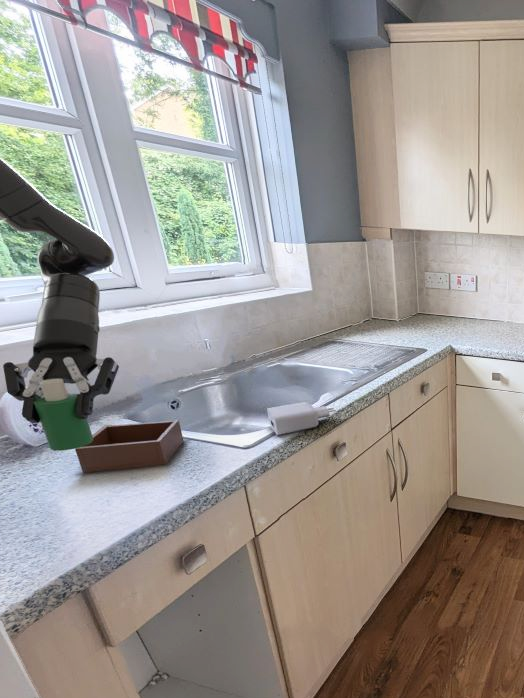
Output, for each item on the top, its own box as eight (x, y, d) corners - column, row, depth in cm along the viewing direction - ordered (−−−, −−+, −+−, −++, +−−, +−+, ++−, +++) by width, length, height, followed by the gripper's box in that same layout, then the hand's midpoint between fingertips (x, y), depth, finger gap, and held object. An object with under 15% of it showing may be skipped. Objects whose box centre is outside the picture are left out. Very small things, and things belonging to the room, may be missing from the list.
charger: (341, 423, 118) (277, 436, 109) (330, 412, 125) (269, 424, 116) (339, 406, 117) (274, 418, 107) (328, 396, 123) (266, 406, 114)
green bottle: (42, 452, 72) (18, 387, 68) (61, 438, 77) (39, 377, 73) (83, 448, 74) (62, 385, 70) (99, 435, 78) (80, 375, 75)
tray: (82, 472, 90) (74, 449, 88) (110, 447, 100) (103, 425, 98) (165, 464, 94) (159, 441, 93) (183, 441, 105) (178, 420, 103)
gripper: (-5, 318, 72) (-23, 415, 66) (112, 315, 78) (104, 404, 72) (24, 343, 78) (10, 434, 72) (130, 339, 84) (125, 422, 78)
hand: (57, 418), depth 72 cm, fingers closed on green bottle, 5 cm apart
